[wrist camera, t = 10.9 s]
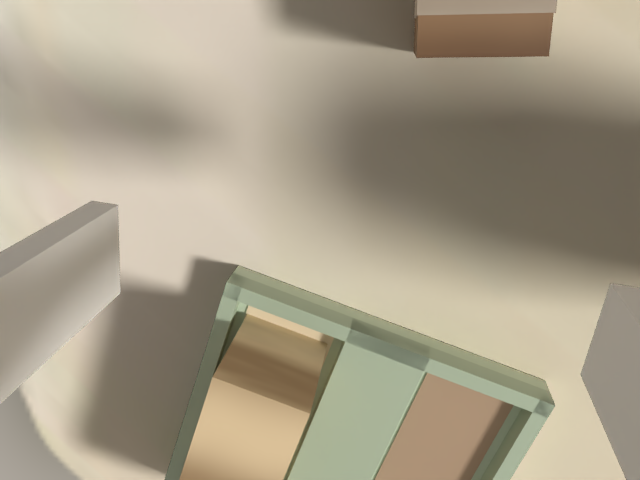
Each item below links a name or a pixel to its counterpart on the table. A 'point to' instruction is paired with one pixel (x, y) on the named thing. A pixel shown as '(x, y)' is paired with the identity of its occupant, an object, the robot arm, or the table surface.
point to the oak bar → (256, 405)
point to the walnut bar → (483, 28)
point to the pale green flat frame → (381, 394)
